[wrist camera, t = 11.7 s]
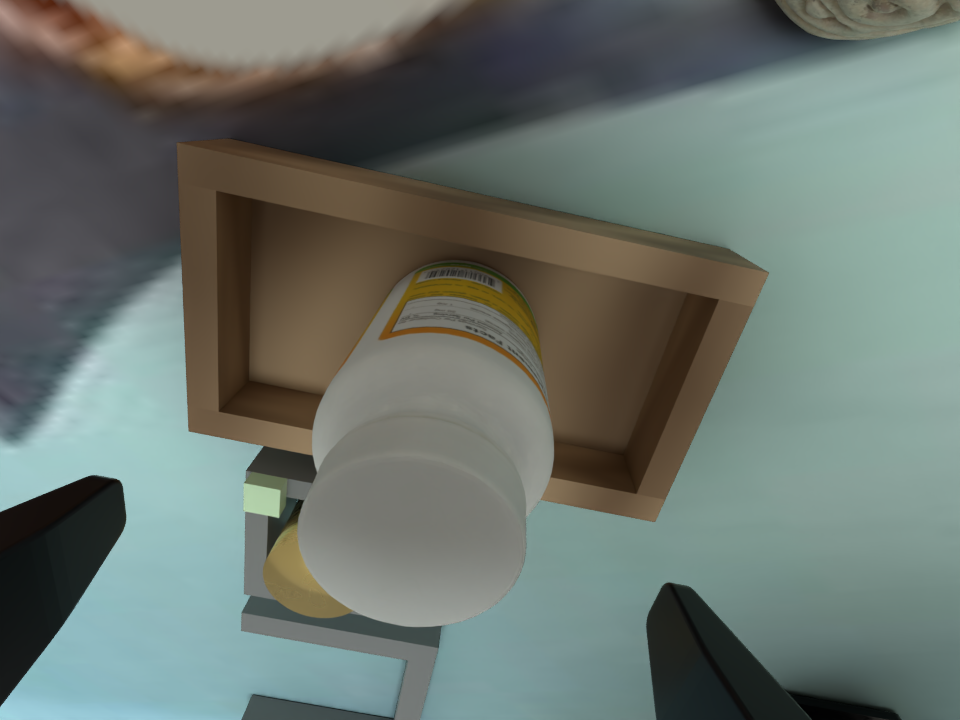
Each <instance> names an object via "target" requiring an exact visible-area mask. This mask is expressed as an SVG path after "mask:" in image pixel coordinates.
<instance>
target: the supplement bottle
mask: <svg viewBox="0 0 960 720" xmlns="http://www.w3.org/2000/svg"><path fill="white" fill-rule="evenodd" d="M312 453H313V459H314V464H315V467H316V470H317V475H316V477H315V479H314V482H313V484H312V486H311V488H310V490H309V492H308V494H307V496H306V498H305V500H304V502H303V505H302V508H301V511H300V515H299V519H298V527H297V536H298V543H299V549H300V552H301V555H302V557H303V560H304V562H305V565H306V567H307V568H308V570H309V572H310V573H311V575H312V576H313V577H314V579H315V580H316V581H317V582H318V584H319V585H320V586H321V587H322V588H323V589H324V590H325V591H326V592H327V593H328V594H329V595H330V596H332V597H333V598H334V599H336V600H337V601H338V602H340V603H341V604H343V605H345V606H346V607H348V608H349V609H351V610H353V611H355V612H357V613H359V614H362V615H364V616H366V617H369V618H372V619H375V620H378V621H382V622H386V623H390V624H395V625H400V626H408V627H433V626H442V625H449V624H453V623H457V622H461V621H464V620H467V619H470V618H473V617H475V616H477V615H479V614H480V613H482V612H484V611H486V610H488V609H490V608H491V607H492V606H494V605H495V604H497V603H498V602H499V601H500V600H501V599H502V598H503V597H504V596H505V595H506V594H507V593H508V592H509V591H510V590H511V588H512V587H513V586H514V584H515V582H516V580H517V579H518V577H519V575H520V573H521V570H522V567H523V564H524V560H525V554H526V517H527V516H528V515H529V514H530V513H531V512H532V510H533V509H534V508H535V507H536V505H537V504H538V502H539V501H540V499H541V498H542V496H543V494H544V492H545V490H546V488H547V485H548V482H549V479H550V476H551V473H552V468H553V461H554V439H553V429H552V421H551V414H550V408H549V401H548V395H547V389H546V383H545V377H544V370H543V363H542V355H541V349H540V342H539V335H538V329H537V325H536V321H535V317H534V315H533V312H532V309H531V307H530V305H529V303H528V301H527V299H526V298H525V296H524V295H523V294H522V292H521V291H520V290H519V289H518V287H517V286H516V285H515V284H514V283H513V282H512V281H510V280H509V279H508V278H506V277H505V276H504V275H502V274H501V273H499V272H497V271H495V270H494V269H492V268H489V267H487V266H484V265H482V264H478V263H475V262H470V261H462V260H446V261H439V262H435V263H431V264H428V265H425V266H423V267H420V268H418V269H416V270H415V271H413V272H411V273H409V274H408V275H407V276H405V277H404V278H403V279H402V280H400V281H399V282H398V283H397V284H396V285H395V287H394V288H393V289H392V290H391V292H390V293H389V294H388V295H387V297H386V298H385V300H384V301H383V303H382V304H381V306H380V307H379V309H378V310H377V312H376V314H375V315H374V317H373V318H372V320H371V321H370V323H369V325H368V326H367V328H366V329H365V331H364V332H363V334H362V335H361V337H360V338H359V340H358V341H357V343H356V344H355V346H354V347H353V349H352V350H351V352H350V353H349V355H348V356H347V358H346V359H345V361H344V362H343V364H342V365H341V367H340V368H339V370H338V371H337V373H336V374H335V376H334V378H333V379H332V381H331V383H330V384H329V386H328V388H327V390H326V392H325V394H324V396H323V398H322V400H321V402H320V404H319V407H318V409H317V412H316V416H315V420H314V424H313V431H312Z"/></svg>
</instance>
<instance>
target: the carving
mask: <svg viewBox="0 0 960 720" xmlns="http://www.w3.org/2000/svg"><path fill="white" fill-rule="evenodd" d="M775 1H776V3H777V4H778V5H779V6H780V8H781V9H782V11H783V12H784V13H785V14H786V15H787V16H788V17H789V18H790V20H792V21H793V22H794V23H795V24H797V25H798V26H799V27H801V28H802V29H803V30H805V31H806V32H808V33H810V34H812V35H816V36H819V37H823V38H828V39H835V40H867V39H875V38H882V37H889V36H895V35H900V34H904V33H908V32H912V31H916V30H920V29H923V28H932V27H937V26H941V25H945V24H949V23H952V22H956V21H958V20H960V0H775Z"/></svg>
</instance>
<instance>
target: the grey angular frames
mask: <svg viewBox="0 0 960 720" xmlns="http://www.w3.org/2000/svg"><path fill="white" fill-rule="evenodd" d="M316 475H317V470H316V467H315V464H314V459H313V455H308V454H303V453H297V452H292V451H287V450H282V449H277V448H272V447H267V446H264V447H263V448H262V450H261V451H260V452H259V454H258V455H257V456H256V458H255V459H254V460H253V462H252V463H251V465H250V466H249V467H248V469H247V470H246V481H245V482H244V508H243V511H245V567H244V594H246V595H251V596H250V598H249V600H248V602H247V604H246V605H245V607H244V609H243V611H242V622H241V631H245V632H250V633H256V634H262V635H267V636H273V637H278V638H284V639H290V640H295V641H301V642H307V643H312V644H318V645H323V646H329V647H335V648H340V649H346V650H352V651H357V652H363V653H368V654H374V655H380V656H385V657H391V658H396V659H402V660H407V662H406V667H405V671H404V676H403V680H402V685H401V689H400V694H399V698H398V702H397V707H396V711H395V716H394V719H389V718H383V717H377V716H372V715H366V714H360V713H354V712H348V711H343V710H337V709H331V708H325V707H319V706H314V705H308V704H302V703H296V702H290V701H285V700H279V699H273V698H267V697H262V696H256V695H252V697H251V699H250V701H249V704H248V706H247V708H246V711H245V713H244V715H243V717H242V720H420V717H421V713H422V709H423V705H424V702H425V698H426V694H427V690H428V686H429V682H430V678H431V675H432V671H433V667H434V663H435V659H436V655H437V651H438V647H439V639H440V631H441V626H433V627H408V626H400V625H395V624H390V623H386V622H382V621H378V620H375V619H372V618H369V617H366V616H364V615H362V614H359V613H357V612H355V611H352V612H350V613H348V614H346V615H343V616H339V617H334V618H316V617H310V616H305V615H302V614H299V613H297V612H294V611H292V610H290V609H288V608H287V607H285V606H283V605H282V604H281V603H279V602H278V601H277V600H276V599H275V598H274V597H273V596H272V595H271V593H270V592H269V591H268V589H267V587H266V585H265V583H264V579H263V566H264V563H265V561H266V559H267V557H268V555H269V554H270V552H271V550H272V548H273V546H274V544H275V542H276V541H277V539H278V537H279V535H280V533H281V531H282V529H283V528H284V526H285V524H286V522H287V520H288V518H289V516H290V515H291V513H292V511H293V509H294V507H295V505H296V499H300V500H305V498H306V496H307V494H308V492H309V490H310V488H311V486H312V484H313V482H314V479H315V477H316Z"/></svg>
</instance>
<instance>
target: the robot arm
mask: <svg viewBox="0 0 960 720" xmlns="http://www.w3.org/2000/svg"><path fill="white" fill-rule="evenodd" d="M125 524H126V510H125V501H124V493H123V486H122V483H121V482H120V481H119V480H117V479H114V478H109V477H104V476H98V475H91V476H88V477H85V478H82V479H80V480H77V481H75V482H73V483H70V484H68V485H65V486H63V487H60V488H58V489H55V490H53V491H51V492H48V493H46V494H43V495H41V496H38V497H36V498H33V499H31V500H28V501H26V502H24V503H21V504H19V505H16V506H14V507H11V508H9V509H6V510H4V511H2V512H0V706H1V705H2V704H3V703H4V701H5V700H6V699H7V697H8V696H9V695H10V693H11V692H12V691H13V690H14V688H15V687H16V686H17V684H18V683H19V682H20V681H21V679H22V678H23V677H24V675H25V674H26V673H27V671H28V670H29V669H30V668H31V666H32V665H33V664H34V662H35V661H36V660H37V659H38V657H39V656H40V655H41V653H42V652H43V651H44V650H45V648H46V647H47V646H48V644H49V643H50V642H51V640H52V639H53V638H54V636H55V635H56V634H57V632H58V631H59V630H60V628H61V627H62V626H63V624H64V623H65V621H66V620H67V618H68V617H69V615H70V614H71V612H72V611H73V609H74V608H75V606H76V605H77V603H78V602H79V600H80V598H81V597H82V595H83V594H84V592H85V591H86V589H87V587H88V586H89V584H90V583H91V581H92V579H93V578H94V576H95V575H96V573H97V572H98V570H99V568H100V567H101V565H102V564H103V562H104V561H105V559H106V557H107V556H108V554H109V553H110V551H111V549H112V548H113V546H114V545H115V543H116V542H117V540H118V538H119V537H120V535H121V533H122V532H123V529H124V527H125ZM646 630H647V640H648V649H649V658H650V667H651V676H652V685H653V695H654V704H655V712H656V720H901V718H900V716H899V715H898V714H895V713H891V712H885V711H880V710H874V709H869V708H863V707H857V706H852V705H846V704H841V703H835V702H830V701H824V700H819V699H813V698H808V697H802V696H797V695H791V694H788V693H787V692H786V691H785V690H784V689H783V687H782V686H781V685H780V684H779V683H778V682H777V681H776V680H775V679H774V678H773V676H772V675H771V674H770V673H769V672H768V671H767V670H766V669H765V668H764V667H763V665H762V664H761V663H760V662H759V661H758V660H757V659H756V658H755V657H754V656H753V654H752V653H751V652H750V651H749V650H748V649H747V648H746V647H745V646H744V645H743V643H742V642H741V641H740V640H739V639H738V638H737V637H736V636H735V635H734V634H733V632H732V631H731V630H730V629H729V628H728V627H727V626H726V625H725V624H724V623H723V621H722V620H721V619H720V618H719V617H718V616H717V615H716V614H715V613H714V612H713V610H712V609H711V608H710V607H709V606H708V605H707V604H706V603H705V602H704V601H703V600H702V598H701V597H700V596H699V595H698V594H697V593H696V592H695V591H694V590H693V589H692V588H691V587H689V586H685V585H680V584H675V583H666V584H664V585H663V586H662V588H661V590H660V592H659V593H658V595H657V597H656V599H655V601H654V603H653V605H652V607H651V609H650V611H649V614H648V617H647V622H646Z"/></svg>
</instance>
